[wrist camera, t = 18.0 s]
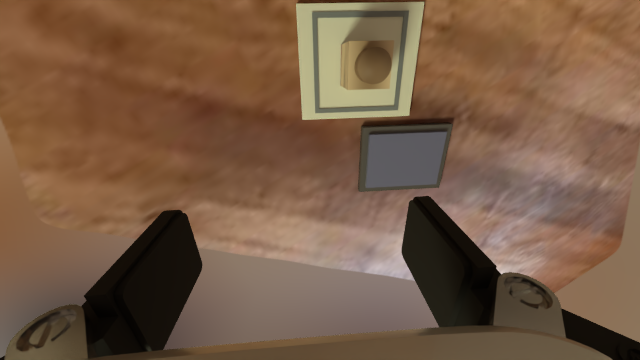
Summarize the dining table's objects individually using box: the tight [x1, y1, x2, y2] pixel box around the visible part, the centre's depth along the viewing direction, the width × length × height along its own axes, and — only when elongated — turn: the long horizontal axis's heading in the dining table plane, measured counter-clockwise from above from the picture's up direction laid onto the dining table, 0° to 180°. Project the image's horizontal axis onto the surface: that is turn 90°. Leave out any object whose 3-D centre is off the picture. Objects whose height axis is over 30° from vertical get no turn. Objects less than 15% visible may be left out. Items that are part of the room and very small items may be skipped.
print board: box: [296, 2, 424, 120], centre depth 33 cm, size 16×14×1 cm
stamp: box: [340, 40, 394, 90], centre depth 29 cm, size 5×5×8 cm
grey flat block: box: [358, 123, 453, 192], centre depth 39 cm, size 14×11×2 cm
